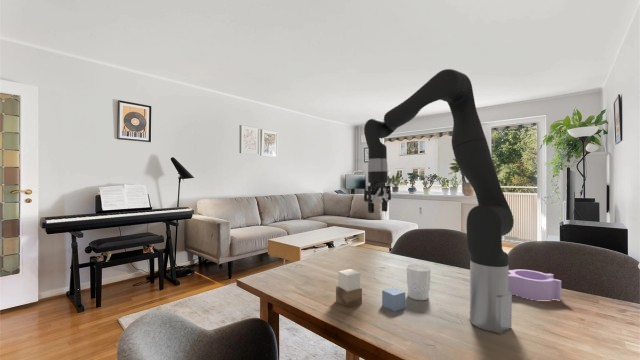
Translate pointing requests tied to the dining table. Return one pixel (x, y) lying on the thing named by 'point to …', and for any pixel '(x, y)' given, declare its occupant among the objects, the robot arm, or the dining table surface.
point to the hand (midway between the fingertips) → (378, 212)
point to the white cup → (418, 281)
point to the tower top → (349, 280)
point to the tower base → (348, 297)
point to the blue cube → (393, 299)
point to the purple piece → (533, 285)
